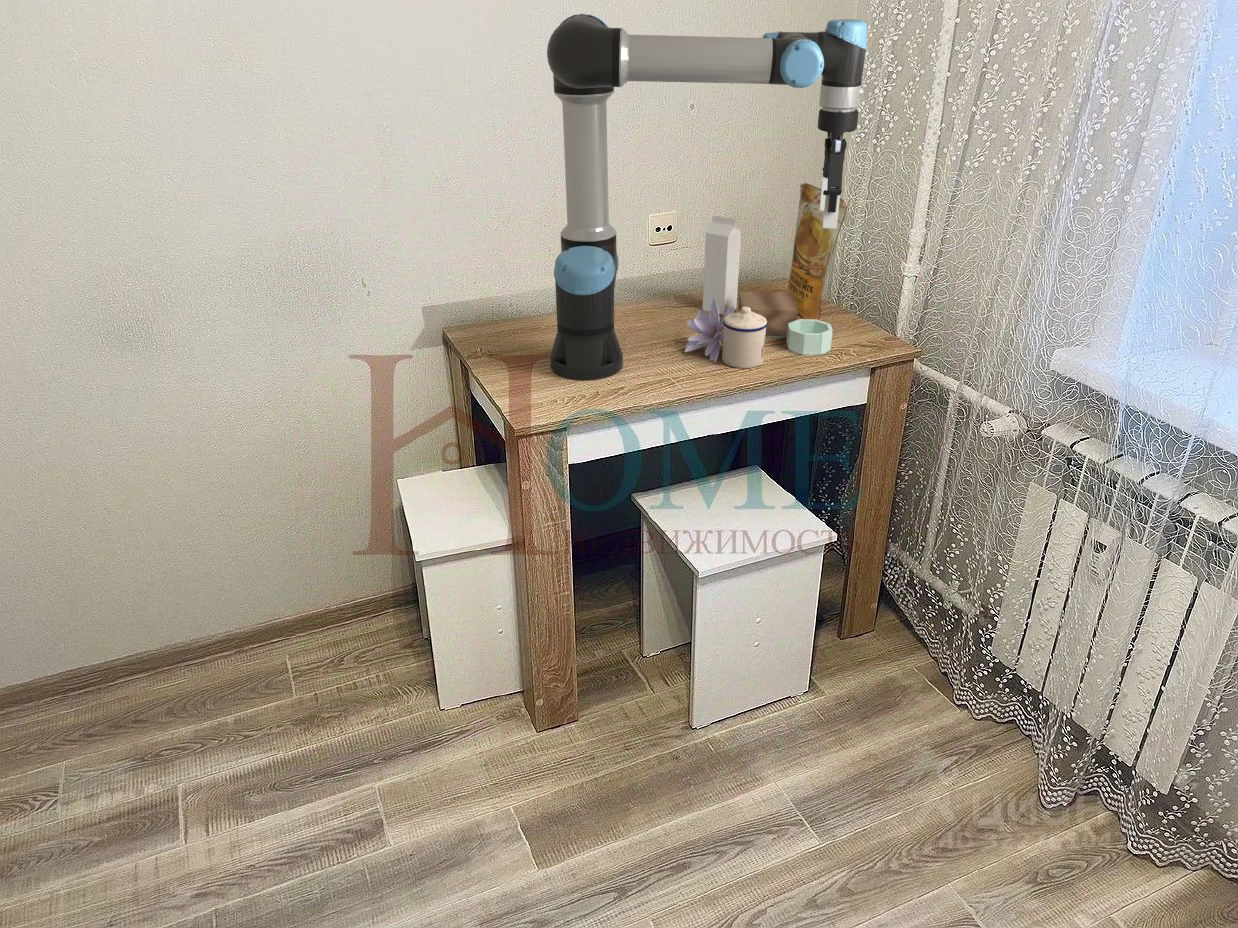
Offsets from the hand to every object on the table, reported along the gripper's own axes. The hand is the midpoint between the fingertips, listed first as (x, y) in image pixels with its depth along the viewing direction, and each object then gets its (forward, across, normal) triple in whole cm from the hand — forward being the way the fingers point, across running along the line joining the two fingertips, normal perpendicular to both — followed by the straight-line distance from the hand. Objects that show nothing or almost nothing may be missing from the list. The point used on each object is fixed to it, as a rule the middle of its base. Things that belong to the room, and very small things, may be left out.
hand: (827, 219), depth 190 cm
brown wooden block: (+27, +8, +11) cm, 30 cm away
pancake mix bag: (+27, +20, +1) cm, 34 cm away
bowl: (+27, -3, +2) cm, 28 cm away
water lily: (+27, -8, +23) cm, 37 cm away
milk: (+27, +18, +22) cm, 39 cm away
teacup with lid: (+27, -10, +16) cm, 33 cm away
